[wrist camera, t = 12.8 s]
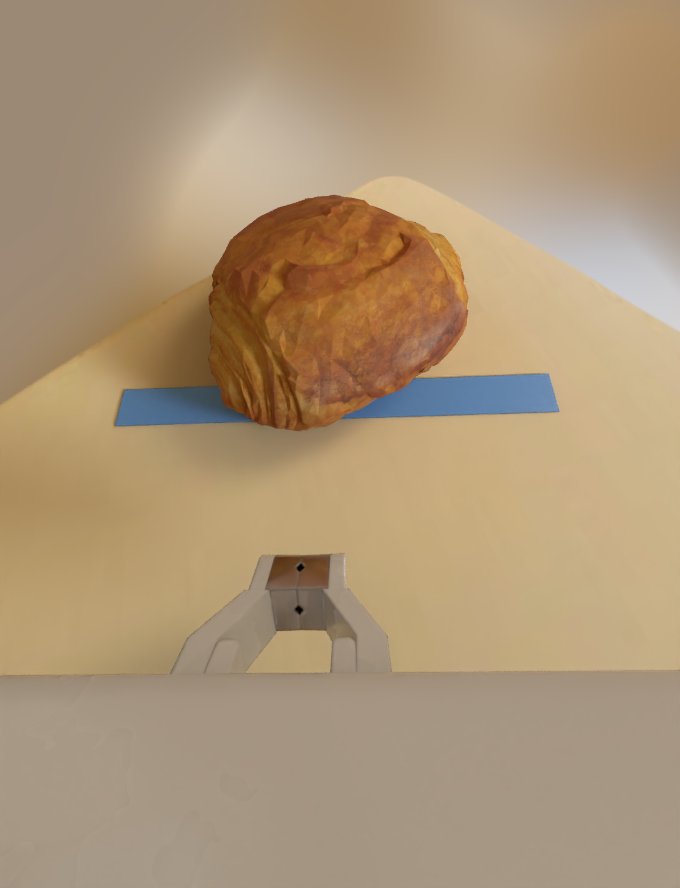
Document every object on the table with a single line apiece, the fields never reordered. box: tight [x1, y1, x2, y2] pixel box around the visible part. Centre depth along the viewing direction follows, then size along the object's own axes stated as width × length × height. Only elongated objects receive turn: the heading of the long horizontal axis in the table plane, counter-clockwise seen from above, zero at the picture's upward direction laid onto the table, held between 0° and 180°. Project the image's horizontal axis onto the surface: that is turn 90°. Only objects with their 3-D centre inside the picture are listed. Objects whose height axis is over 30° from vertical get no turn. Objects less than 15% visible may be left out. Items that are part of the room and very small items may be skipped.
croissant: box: [208, 195, 468, 431], centre depth 19 cm, size 14×16×8 cm
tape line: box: [115, 374, 559, 426], centre depth 20 cm, size 2×26×1 cm, turn 91°
